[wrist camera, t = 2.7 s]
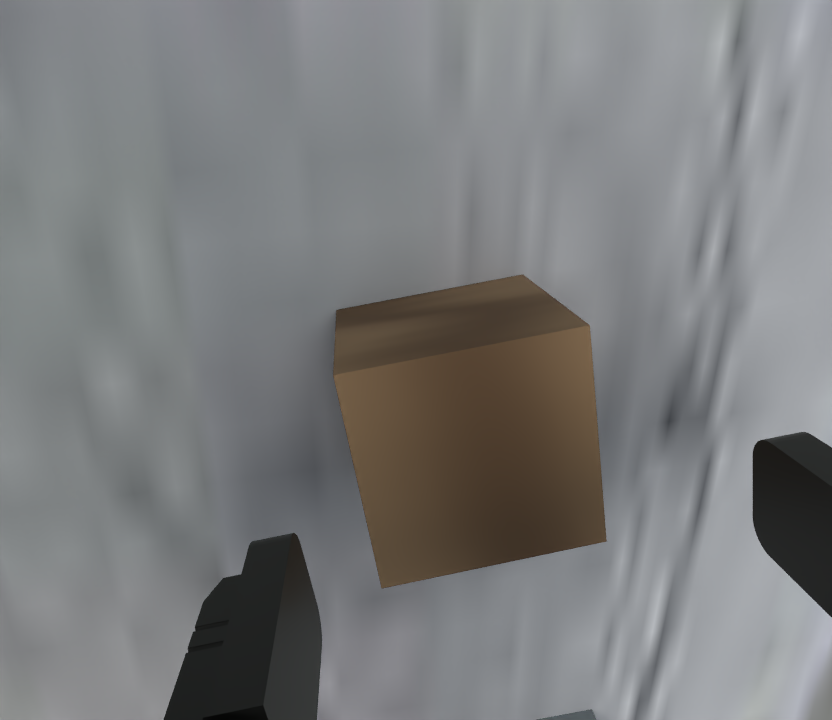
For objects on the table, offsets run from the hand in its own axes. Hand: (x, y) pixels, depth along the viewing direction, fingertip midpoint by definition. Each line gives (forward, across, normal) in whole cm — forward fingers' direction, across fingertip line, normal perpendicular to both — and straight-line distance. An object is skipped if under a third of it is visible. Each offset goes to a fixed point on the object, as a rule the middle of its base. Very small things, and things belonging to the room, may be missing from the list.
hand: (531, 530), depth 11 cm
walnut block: (+7, 0, 0) cm, 7 cm away
